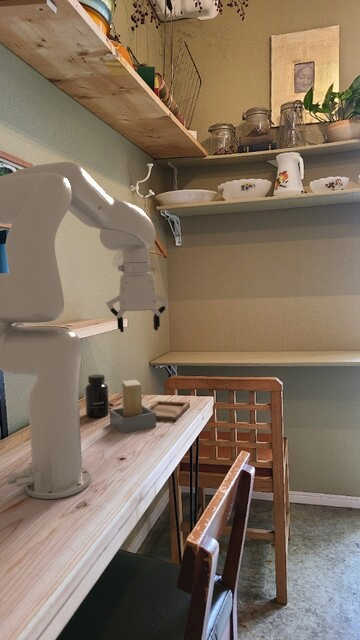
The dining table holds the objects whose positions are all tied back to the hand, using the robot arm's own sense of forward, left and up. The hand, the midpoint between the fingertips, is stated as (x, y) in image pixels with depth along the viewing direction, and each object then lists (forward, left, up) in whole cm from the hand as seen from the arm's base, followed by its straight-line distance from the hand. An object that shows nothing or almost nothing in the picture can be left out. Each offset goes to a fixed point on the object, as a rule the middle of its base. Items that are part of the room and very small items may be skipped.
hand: (138, 330), depth 124 cm
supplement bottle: (-9, +13, -26) cm, 31 cm away
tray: (+9, +3, -26) cm, 28 cm away
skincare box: (-4, -2, -26) cm, 27 cm away
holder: (-4, -2, -26) cm, 26 cm away
